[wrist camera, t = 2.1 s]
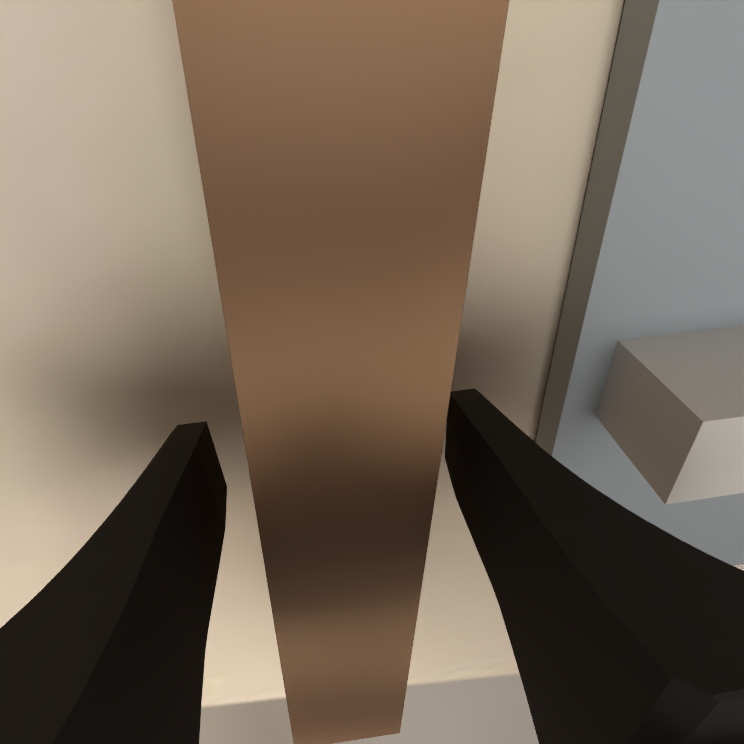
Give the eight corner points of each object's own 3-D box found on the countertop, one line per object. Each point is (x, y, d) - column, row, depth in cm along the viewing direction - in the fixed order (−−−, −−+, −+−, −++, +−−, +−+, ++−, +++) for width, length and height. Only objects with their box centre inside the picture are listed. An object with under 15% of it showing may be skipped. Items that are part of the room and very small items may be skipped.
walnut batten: (374, 575, 18) (399, 732, 14) (292, 585, 18) (294, 749, 14) (408, -72, 8) (533, -170, 4) (218, -83, 8) (138, -208, 4)
